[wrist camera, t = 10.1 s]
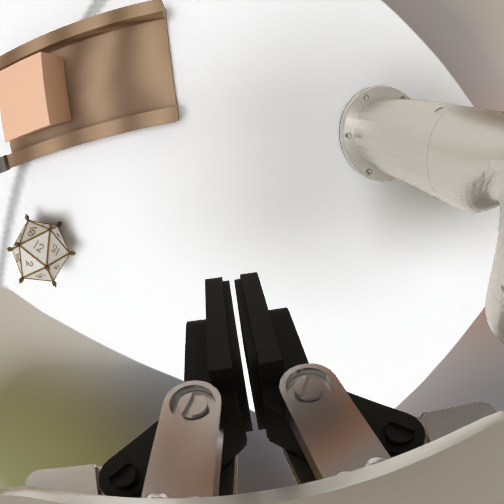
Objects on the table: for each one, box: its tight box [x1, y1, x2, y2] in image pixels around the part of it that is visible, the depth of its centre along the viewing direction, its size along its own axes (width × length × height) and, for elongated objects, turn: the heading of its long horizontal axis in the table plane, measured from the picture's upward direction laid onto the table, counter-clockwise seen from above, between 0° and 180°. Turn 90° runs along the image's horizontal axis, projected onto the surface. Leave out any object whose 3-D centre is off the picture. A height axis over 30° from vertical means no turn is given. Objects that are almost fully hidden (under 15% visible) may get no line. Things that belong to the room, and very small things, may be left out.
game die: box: [7, 214, 76, 287], centre depth 33 cm, size 9×8×10 cm
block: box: [0, 52, 72, 142], centre depth 25 cm, size 6×8×6 cm
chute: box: [0, 0, 179, 173], centre depth 27 cm, size 22×14×5 cm, turn 97°
